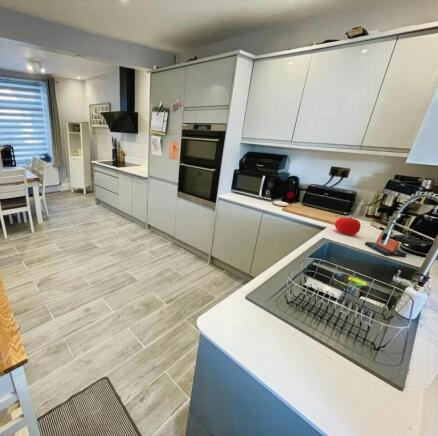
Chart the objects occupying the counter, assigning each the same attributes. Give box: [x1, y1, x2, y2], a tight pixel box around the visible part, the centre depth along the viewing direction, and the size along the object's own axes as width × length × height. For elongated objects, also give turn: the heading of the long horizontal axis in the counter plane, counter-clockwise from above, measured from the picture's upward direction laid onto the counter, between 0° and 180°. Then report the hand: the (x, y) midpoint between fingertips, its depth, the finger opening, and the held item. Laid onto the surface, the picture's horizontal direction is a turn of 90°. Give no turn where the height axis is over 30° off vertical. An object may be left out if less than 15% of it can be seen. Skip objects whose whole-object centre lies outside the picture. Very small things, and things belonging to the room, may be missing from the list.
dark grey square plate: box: [364, 241, 408, 258], centre depth 144 cm, size 15×15×2 cm
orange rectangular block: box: [376, 233, 400, 252], centre depth 142 cm, size 11×2×6 cm, turn 178°
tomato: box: [334, 216, 361, 236], centre depth 166 cm, size 12×14×11 cm
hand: (386, 238), depth 145 cm, fingers closed
